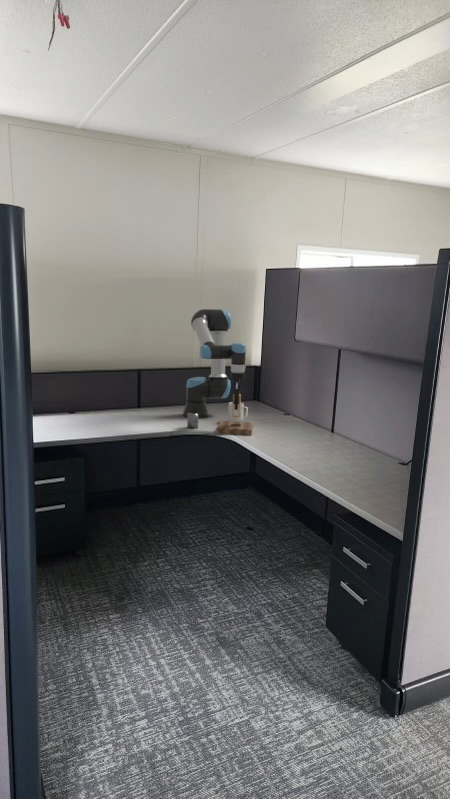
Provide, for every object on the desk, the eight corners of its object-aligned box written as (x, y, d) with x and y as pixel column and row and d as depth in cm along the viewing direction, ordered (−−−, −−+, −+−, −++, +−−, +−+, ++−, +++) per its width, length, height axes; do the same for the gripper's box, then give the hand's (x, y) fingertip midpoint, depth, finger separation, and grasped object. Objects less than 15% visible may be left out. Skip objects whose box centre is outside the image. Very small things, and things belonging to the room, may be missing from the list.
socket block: (217, 433, 289) (217, 428, 289) (220, 426, 307) (220, 420, 307) (251, 435, 288) (251, 429, 288) (252, 427, 306) (252, 422, 305)
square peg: (232, 417, 294) (233, 395, 292) (232, 415, 298) (233, 394, 296) (239, 417, 294) (240, 395, 292) (240, 415, 298) (240, 394, 296)
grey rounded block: (185, 427, 301) (185, 413, 300) (193, 426, 305) (193, 412, 304) (191, 429, 297) (191, 415, 295) (200, 428, 301) (200, 414, 299)
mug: (225, 422, 318) (225, 403, 316) (232, 419, 325) (233, 401, 323) (243, 425, 312) (244, 406, 310) (250, 422, 319) (251, 403, 317)
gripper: (244, 374, 283) (242, 418, 287) (245, 370, 300) (243, 411, 304) (229, 373, 284) (228, 417, 288) (232, 369, 300) (230, 411, 305)
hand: (236, 414), depth 296 cm, fingers closed on square peg, 4 cm apart
